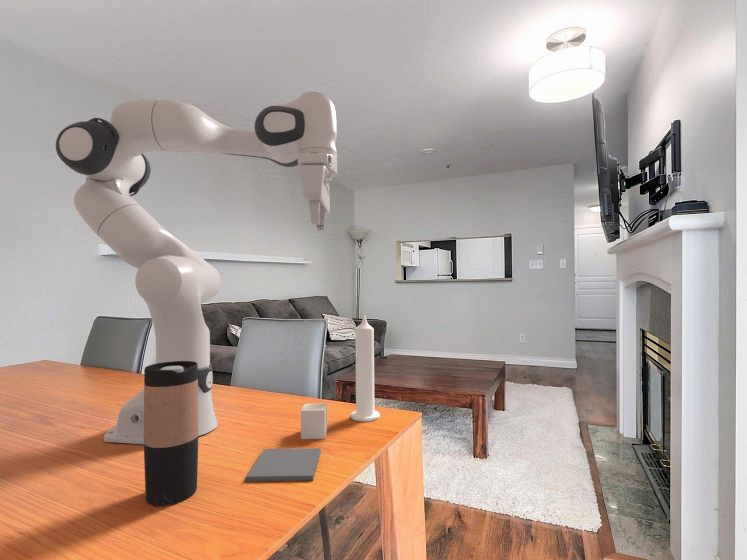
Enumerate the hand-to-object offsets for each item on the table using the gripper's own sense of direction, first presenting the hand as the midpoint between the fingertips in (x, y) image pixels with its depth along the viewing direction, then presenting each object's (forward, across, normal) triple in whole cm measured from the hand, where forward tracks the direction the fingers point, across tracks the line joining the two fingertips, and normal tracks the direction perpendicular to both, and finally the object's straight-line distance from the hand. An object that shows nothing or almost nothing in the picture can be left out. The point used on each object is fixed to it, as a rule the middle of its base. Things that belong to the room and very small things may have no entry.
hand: (318, 227), depth 91 cm
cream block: (+46, +4, -1) cm, 46 cm away
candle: (+46, -7, +10) cm, 48 cm away
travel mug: (+46, +28, -20) cm, 57 cm away
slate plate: (+46, +19, -4) cm, 49 cm away
